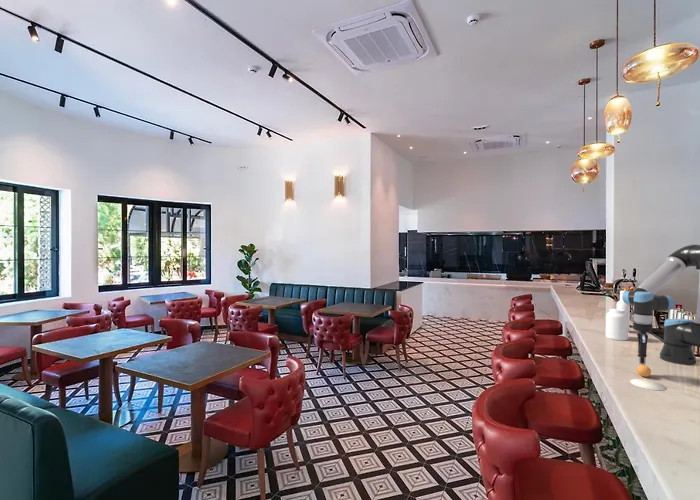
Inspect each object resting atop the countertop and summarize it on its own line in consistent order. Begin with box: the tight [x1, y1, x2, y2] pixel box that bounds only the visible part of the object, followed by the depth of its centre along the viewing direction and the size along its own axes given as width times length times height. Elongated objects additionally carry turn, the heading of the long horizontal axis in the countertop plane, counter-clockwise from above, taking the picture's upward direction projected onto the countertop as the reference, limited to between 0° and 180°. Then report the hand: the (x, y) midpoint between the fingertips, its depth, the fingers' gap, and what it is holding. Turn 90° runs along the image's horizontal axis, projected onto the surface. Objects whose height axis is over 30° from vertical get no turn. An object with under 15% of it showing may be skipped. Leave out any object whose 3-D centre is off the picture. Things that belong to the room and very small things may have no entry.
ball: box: [636, 365, 652, 378], centre depth 179 cm, size 6×6×6 cm
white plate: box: [629, 378, 667, 391], centre depth 169 cm, size 13×13×1 cm
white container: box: [605, 308, 629, 341], centre depth 248 cm, size 12×12×20 cm
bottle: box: [615, 290, 631, 334], centre depth 265 cm, size 8×8×30 cm
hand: (641, 369), depth 182 cm, fingers closed
